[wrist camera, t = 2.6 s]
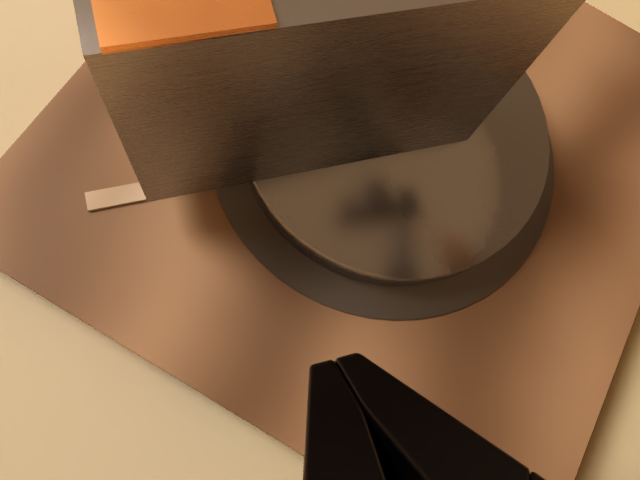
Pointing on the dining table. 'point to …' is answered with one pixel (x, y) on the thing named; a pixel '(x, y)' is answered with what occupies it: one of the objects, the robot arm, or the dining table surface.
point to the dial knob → (338, 118)
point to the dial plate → (346, 293)
